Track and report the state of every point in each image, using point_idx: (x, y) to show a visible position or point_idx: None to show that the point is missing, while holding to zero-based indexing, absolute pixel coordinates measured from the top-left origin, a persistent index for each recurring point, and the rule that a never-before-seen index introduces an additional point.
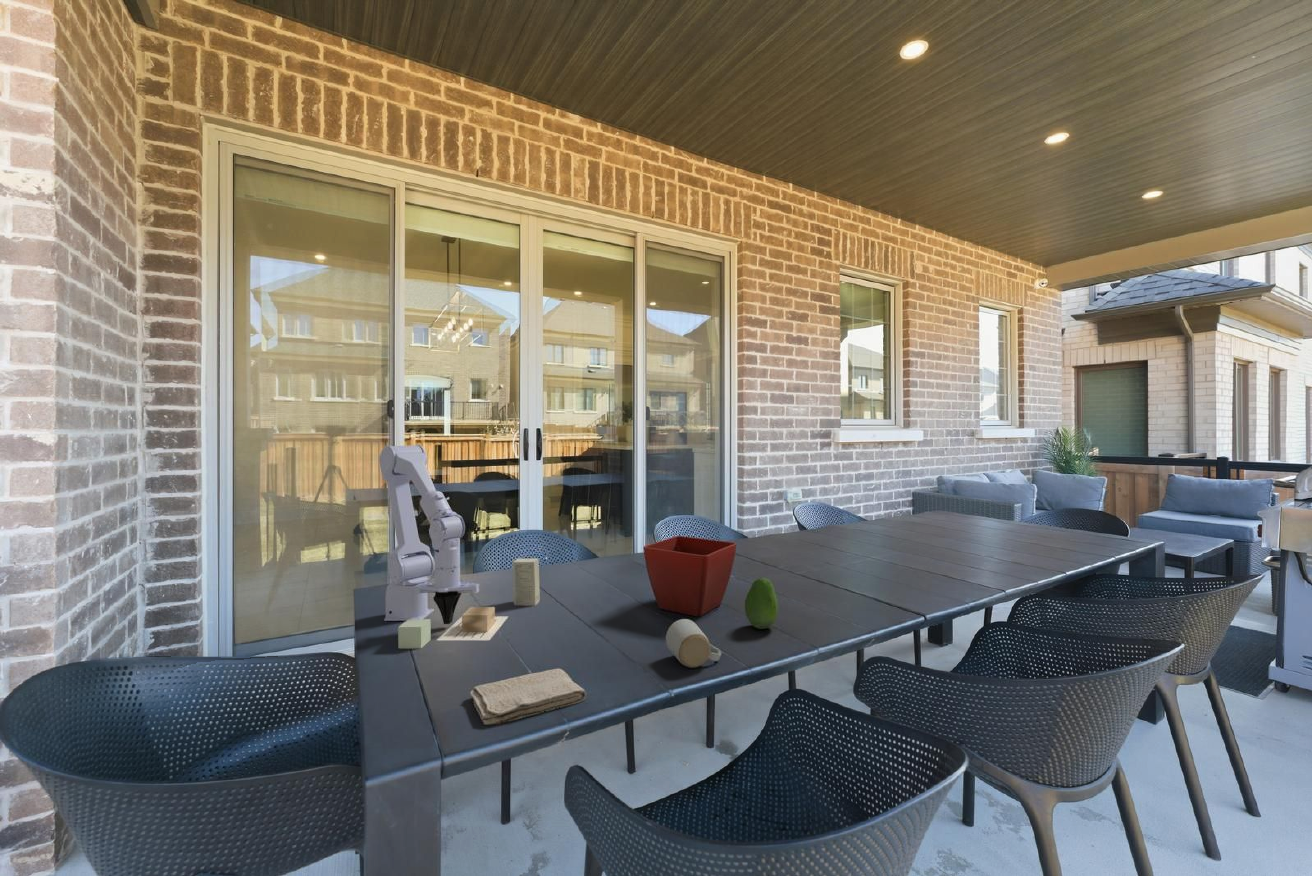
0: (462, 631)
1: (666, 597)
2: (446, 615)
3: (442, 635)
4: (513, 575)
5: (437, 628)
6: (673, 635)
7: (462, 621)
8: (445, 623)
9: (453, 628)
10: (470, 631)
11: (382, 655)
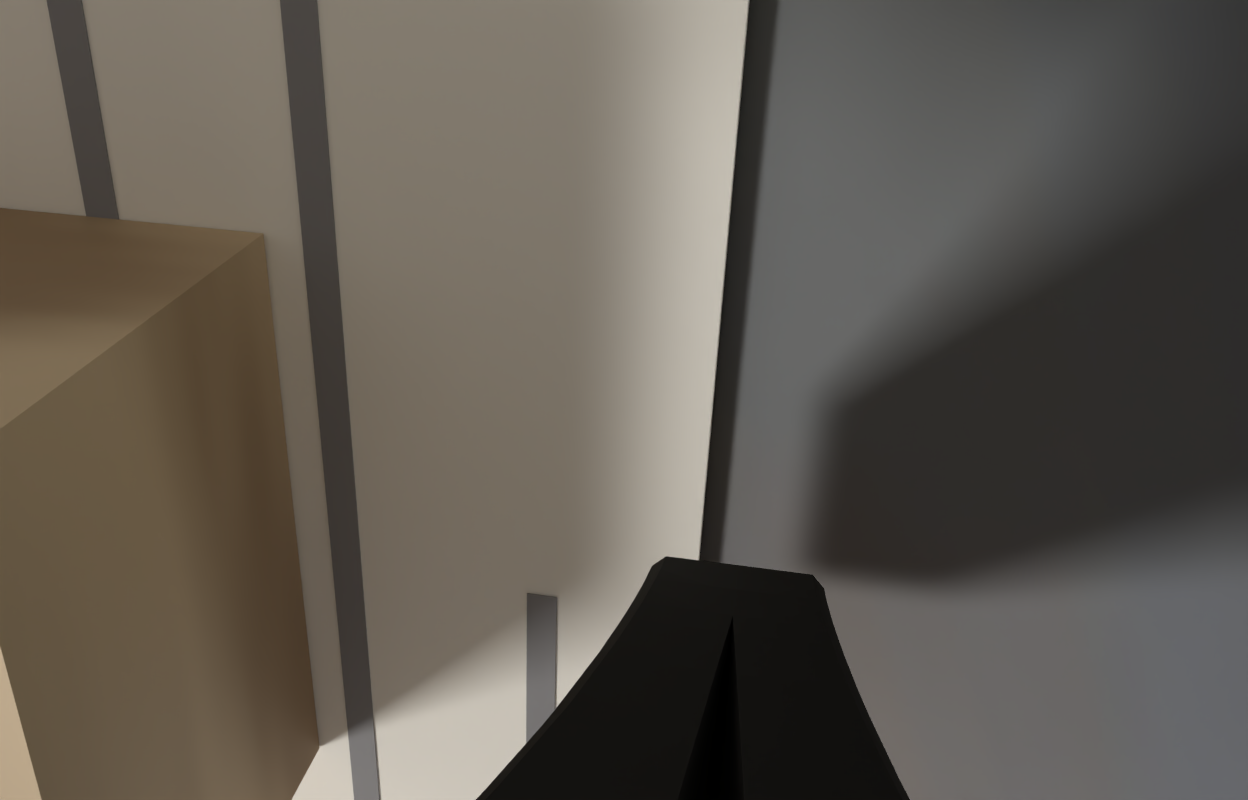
0: (238, 237)
1: None
2: (689, 711)
3: (717, 20)
4: None
5: (1020, 620)
6: None
7: (79, 356)
8: (763, 574)
9: (585, 513)
10: (35, 218)
11: None
